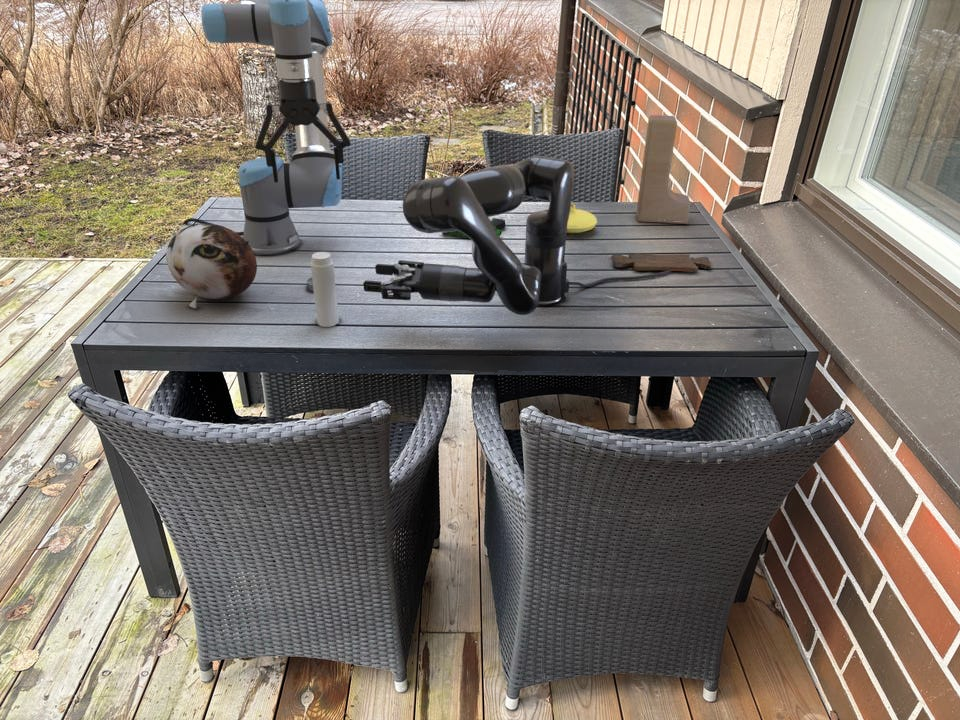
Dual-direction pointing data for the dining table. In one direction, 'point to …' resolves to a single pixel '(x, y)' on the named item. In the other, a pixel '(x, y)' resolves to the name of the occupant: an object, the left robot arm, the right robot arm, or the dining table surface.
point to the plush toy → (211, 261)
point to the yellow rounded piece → (580, 220)
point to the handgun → (497, 224)
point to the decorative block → (660, 176)
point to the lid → (310, 285)
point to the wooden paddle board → (661, 262)
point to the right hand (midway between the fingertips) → (370, 277)
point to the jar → (324, 289)
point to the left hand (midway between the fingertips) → (307, 179)
